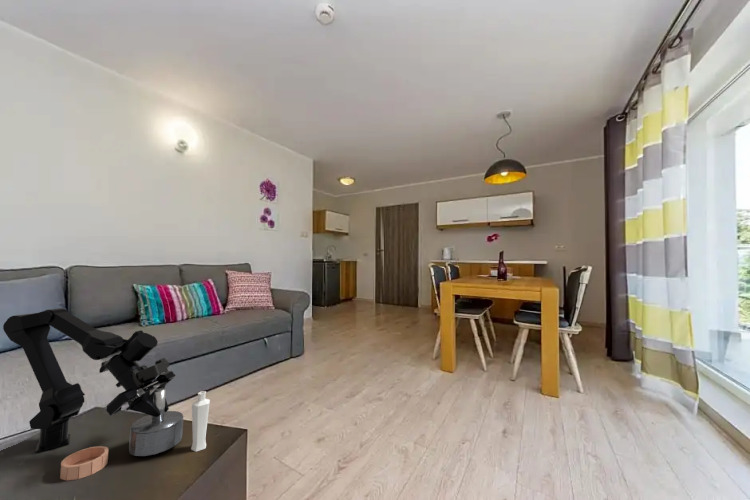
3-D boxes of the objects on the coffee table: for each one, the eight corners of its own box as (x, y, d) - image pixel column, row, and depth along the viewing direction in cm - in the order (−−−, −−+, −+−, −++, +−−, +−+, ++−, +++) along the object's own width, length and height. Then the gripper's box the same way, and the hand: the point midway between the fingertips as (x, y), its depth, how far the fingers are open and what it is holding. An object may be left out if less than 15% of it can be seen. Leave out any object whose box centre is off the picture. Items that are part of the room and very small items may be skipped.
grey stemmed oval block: (126, 441, 85) (130, 389, 86) (176, 427, 93) (179, 379, 94) (131, 461, 76) (135, 403, 77) (186, 443, 85) (189, 391, 86)
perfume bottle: (200, 453, 83) (203, 396, 84) (186, 451, 83) (189, 395, 84) (212, 444, 87) (215, 390, 88) (199, 442, 88) (202, 388, 89)
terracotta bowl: (61, 467, 76) (62, 455, 76) (106, 454, 82) (107, 442, 82) (59, 485, 70) (60, 471, 70) (108, 469, 75) (109, 456, 76)
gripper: (120, 362, 77) (160, 408, 76) (171, 344, 96) (203, 381, 95) (88, 392, 77) (127, 439, 76) (145, 369, 96) (177, 406, 95)
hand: (163, 413), depth 85 cm, fingers closed on grey stemmed oval block, 3 cm apart
